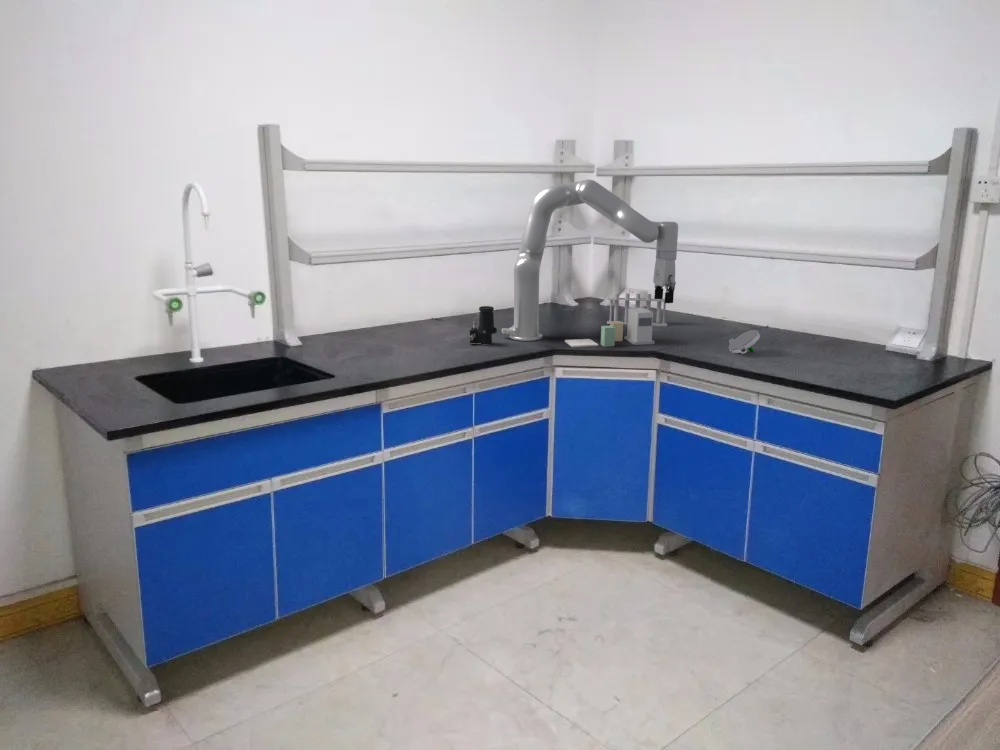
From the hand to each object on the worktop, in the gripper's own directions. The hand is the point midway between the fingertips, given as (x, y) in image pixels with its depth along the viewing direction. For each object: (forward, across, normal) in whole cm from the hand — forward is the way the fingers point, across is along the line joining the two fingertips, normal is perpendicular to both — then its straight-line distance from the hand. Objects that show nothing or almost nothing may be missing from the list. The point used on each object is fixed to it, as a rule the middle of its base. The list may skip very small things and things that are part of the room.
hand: (663, 300), depth 292 cm
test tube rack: (+16, -32, +2) cm, 36 cm away
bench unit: (+15, 0, -9) cm, 18 cm away
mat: (+15, 0, -32) cm, 35 cm away
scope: (+16, -7, -68) cm, 70 cm away
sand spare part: (+15, -4, -17) cm, 23 cm away
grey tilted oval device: (+16, +24, +21) cm, 36 cm away
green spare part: (+15, +4, -23) cm, 28 cm away
